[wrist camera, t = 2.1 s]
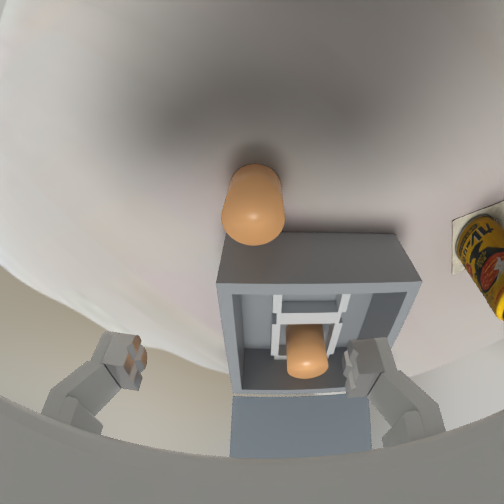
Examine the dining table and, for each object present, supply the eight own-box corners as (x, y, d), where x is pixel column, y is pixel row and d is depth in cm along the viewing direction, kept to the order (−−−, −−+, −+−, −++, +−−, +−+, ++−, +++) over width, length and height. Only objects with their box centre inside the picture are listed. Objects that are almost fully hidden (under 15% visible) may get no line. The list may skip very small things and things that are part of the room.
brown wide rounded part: (228, 164, 22) (219, 190, 17) (281, 164, 21) (285, 190, 17) (231, 210, 24) (223, 245, 20) (280, 210, 24) (283, 245, 20)
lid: (226, 529, 19) (227, 526, 20) (371, 520, 18) (367, 518, 19) (232, 396, 29) (234, 398, 30) (367, 391, 28) (363, 394, 29)
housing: (226, 232, 25) (216, 283, 20) (394, 234, 24) (422, 281, 19) (237, 346, 34) (232, 393, 29) (358, 344, 34) (368, 388, 28)
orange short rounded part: (286, 317, 29) (288, 357, 25) (325, 317, 29) (331, 356, 25) (284, 341, 32) (285, 379, 28) (319, 340, 32) (324, 377, 28)
